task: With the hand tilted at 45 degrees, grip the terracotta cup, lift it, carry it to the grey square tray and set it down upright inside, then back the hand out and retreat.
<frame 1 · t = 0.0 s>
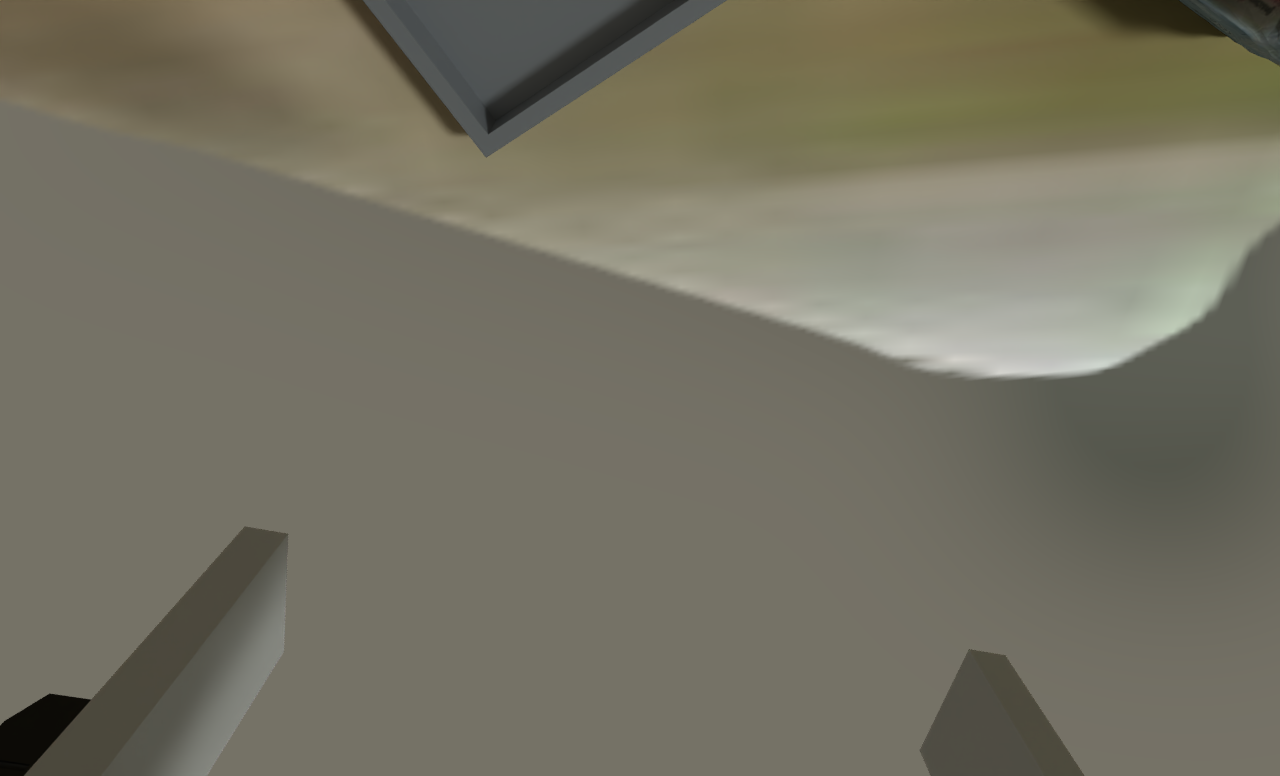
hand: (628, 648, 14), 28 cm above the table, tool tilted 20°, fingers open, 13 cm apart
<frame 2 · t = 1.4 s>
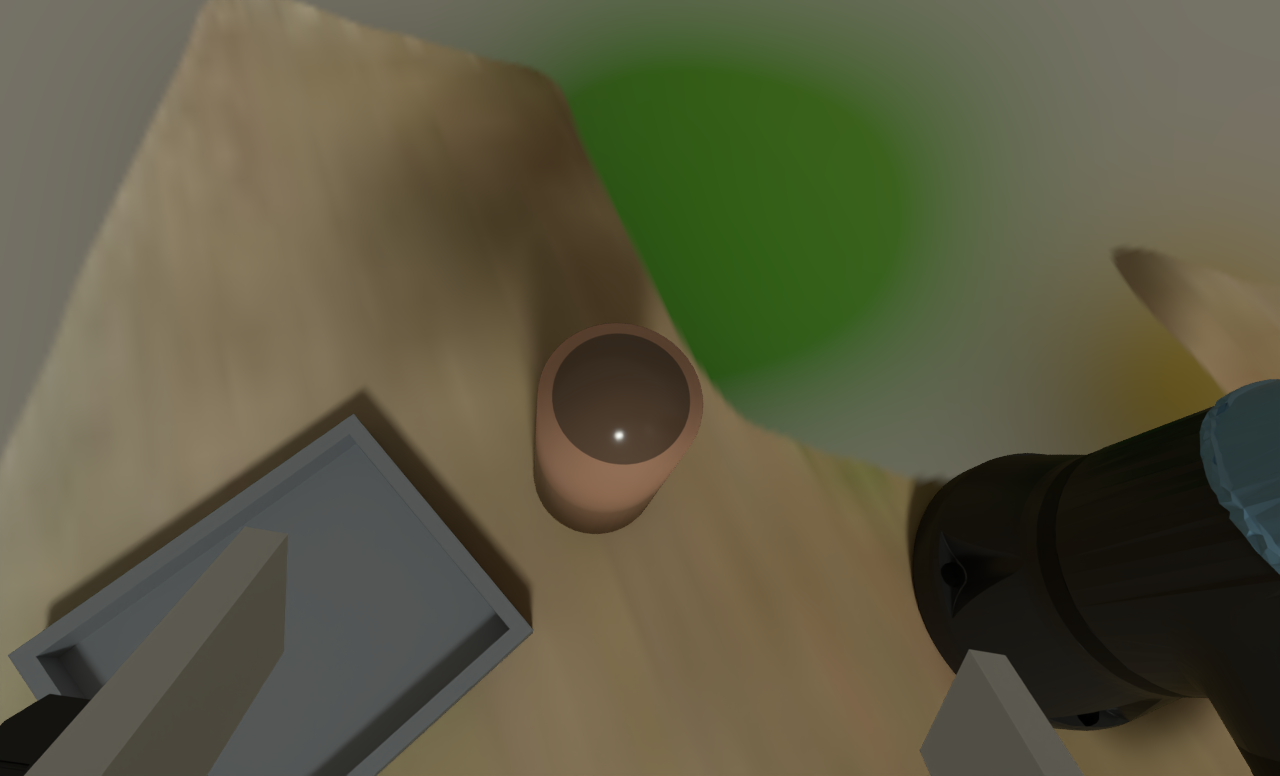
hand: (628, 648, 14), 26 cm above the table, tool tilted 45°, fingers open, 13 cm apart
terracotta cup: (595, 472, 42), on the table
grey square tray: (299, 644, 36), on the table
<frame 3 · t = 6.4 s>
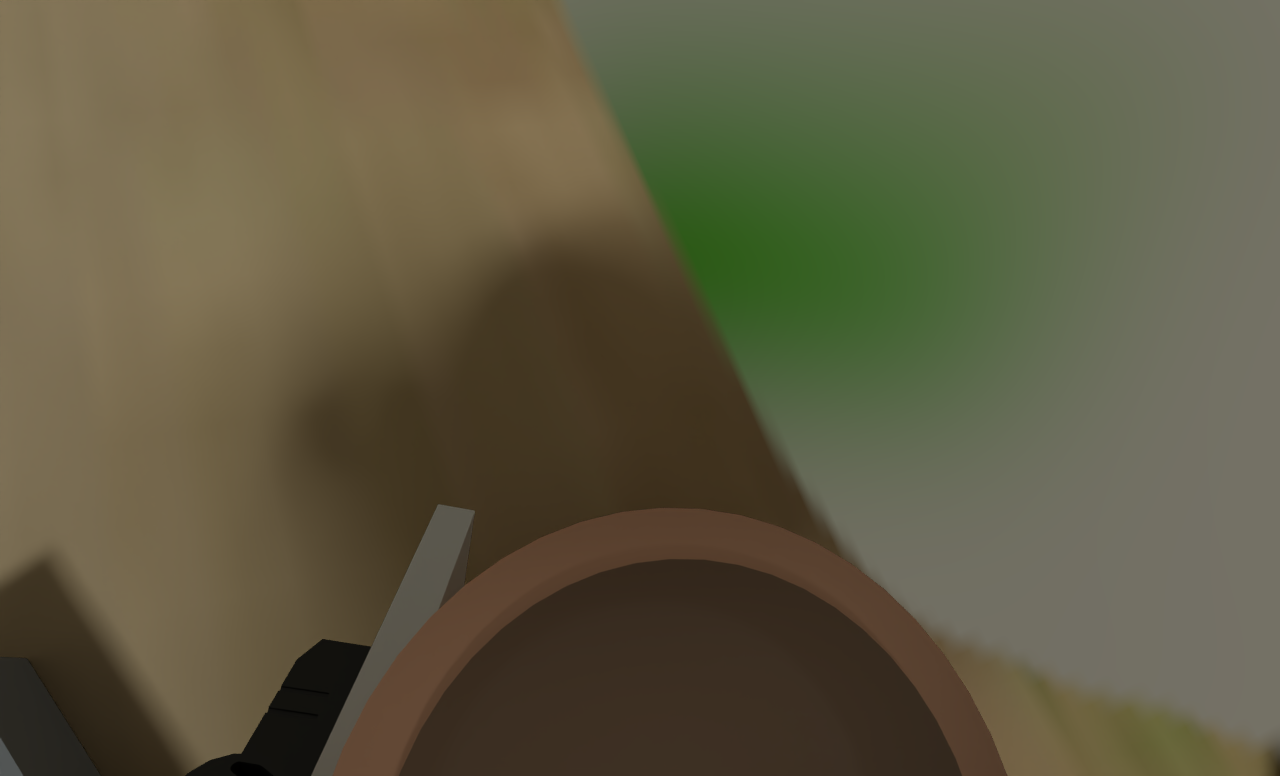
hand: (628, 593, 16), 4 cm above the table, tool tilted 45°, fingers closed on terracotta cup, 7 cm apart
terracotta cup: (584, 757, 18), on the table, touching gripper
when the fingers open (6 cm above the table, at t = 12.2 s): terracotta cup drops 1 cm, resting on grey square tray.
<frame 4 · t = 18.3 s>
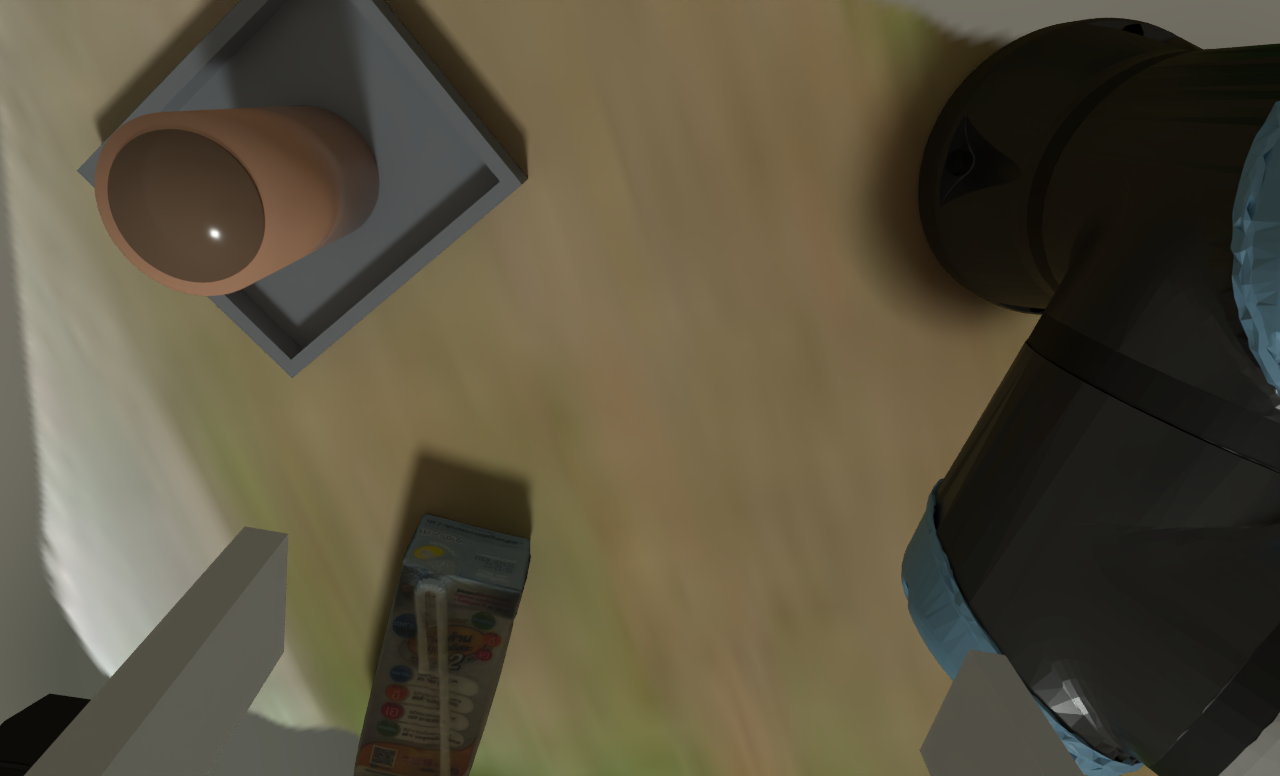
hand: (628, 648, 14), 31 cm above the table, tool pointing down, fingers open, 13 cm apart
terracotta cup: (313, 174, 39), point 1 cm above the table, touching grey square tray
beverage carton: (452, 627, 53), on the table
grey square tray: (319, 172, 40), on the table
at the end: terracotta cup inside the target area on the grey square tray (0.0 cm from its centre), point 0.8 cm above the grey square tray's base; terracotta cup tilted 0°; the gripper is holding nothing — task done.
